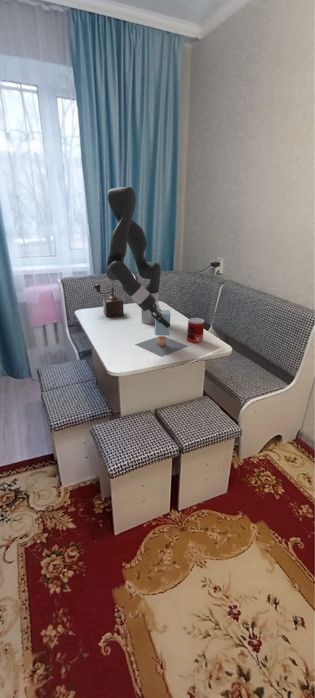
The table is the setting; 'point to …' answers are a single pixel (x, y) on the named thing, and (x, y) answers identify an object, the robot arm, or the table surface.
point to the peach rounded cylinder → (161, 341)
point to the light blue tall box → (159, 327)
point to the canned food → (195, 330)
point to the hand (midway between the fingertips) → (168, 324)
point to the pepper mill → (111, 303)
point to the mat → (161, 351)
